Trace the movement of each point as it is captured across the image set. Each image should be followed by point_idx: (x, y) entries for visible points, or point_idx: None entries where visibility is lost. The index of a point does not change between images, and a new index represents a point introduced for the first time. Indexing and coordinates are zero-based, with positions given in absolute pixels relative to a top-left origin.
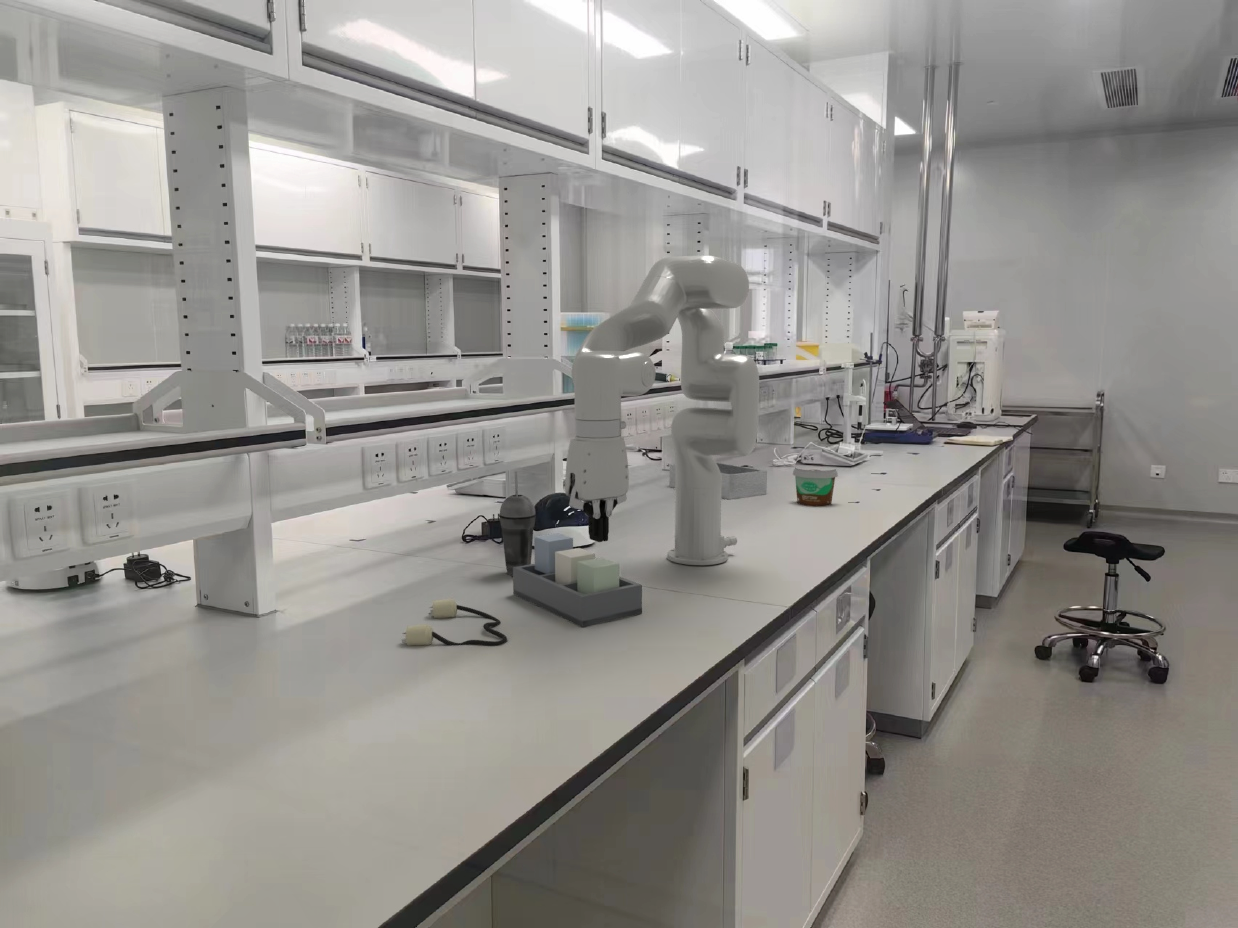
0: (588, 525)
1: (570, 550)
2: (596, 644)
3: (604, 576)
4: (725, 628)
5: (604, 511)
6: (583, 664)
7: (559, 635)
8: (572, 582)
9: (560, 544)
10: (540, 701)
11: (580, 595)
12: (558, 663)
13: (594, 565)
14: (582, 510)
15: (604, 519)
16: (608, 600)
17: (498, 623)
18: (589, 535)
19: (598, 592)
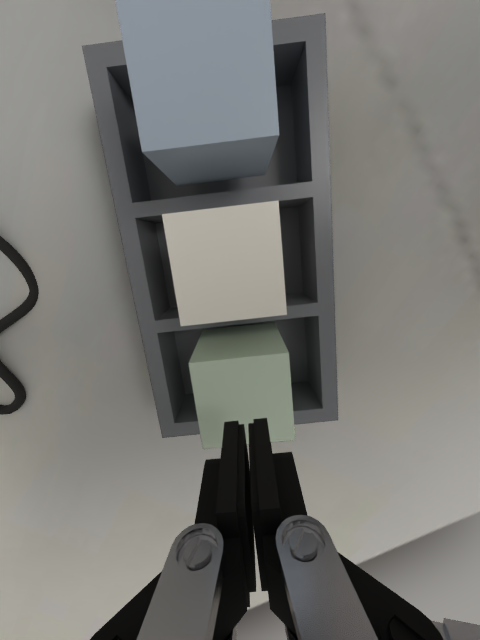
0: (200, 491)
1: (227, 223)
2: (163, 478)
3: None
4: (390, 508)
5: (287, 625)
6: (111, 532)
7: (122, 416)
8: None
9: (208, 152)
10: (18, 598)
11: (163, 427)
12: (78, 515)
13: (218, 424)
14: (127, 603)
15: (266, 588)
16: None
17: (28, 310)
18: (207, 460)
19: None
